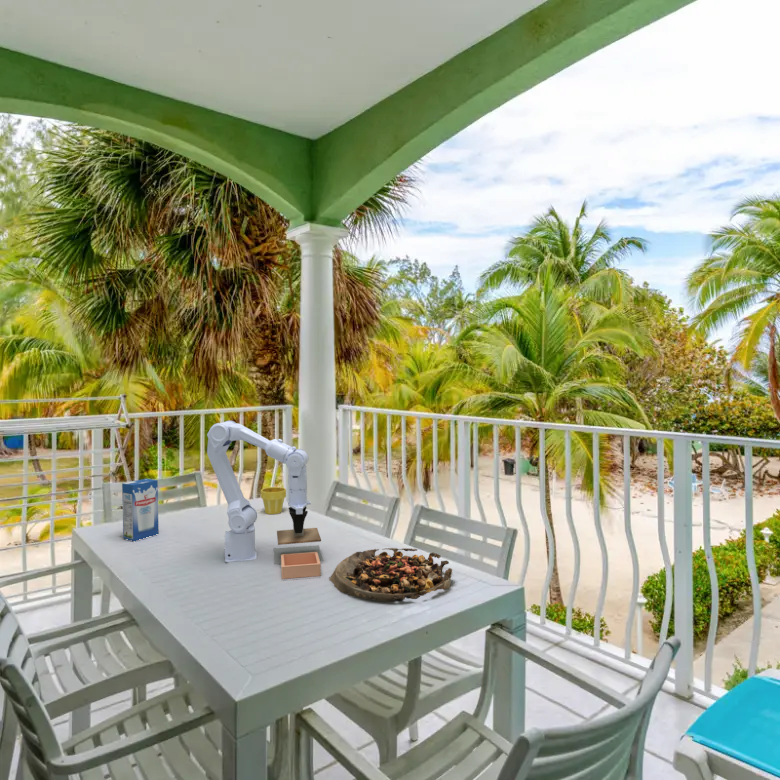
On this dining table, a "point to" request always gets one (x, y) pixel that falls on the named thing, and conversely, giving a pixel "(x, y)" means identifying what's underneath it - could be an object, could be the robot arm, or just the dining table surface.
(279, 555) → the mat
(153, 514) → the milk carton
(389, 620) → the dining table surface
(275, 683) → the dining table surface
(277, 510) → the plant pot
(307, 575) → the pink shallow tray
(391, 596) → the food dish
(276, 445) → the robot arm
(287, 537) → the lid
